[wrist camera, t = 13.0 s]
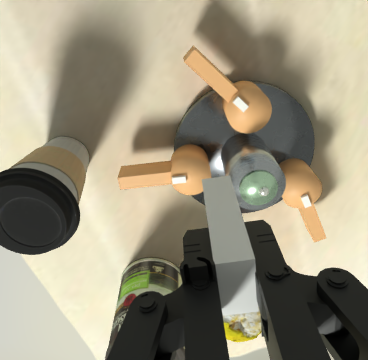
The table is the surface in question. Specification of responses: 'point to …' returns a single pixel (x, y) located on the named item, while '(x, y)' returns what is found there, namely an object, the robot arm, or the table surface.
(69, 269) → the table surface
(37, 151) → the coffee cup
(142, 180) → the knob
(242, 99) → the knob
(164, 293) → the coffee can
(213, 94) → the base
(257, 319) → the fruit
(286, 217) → the table surface
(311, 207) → the knob
